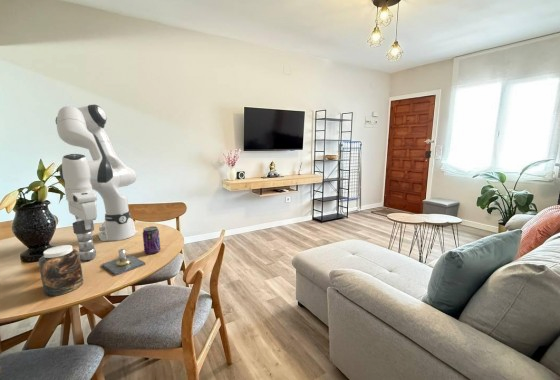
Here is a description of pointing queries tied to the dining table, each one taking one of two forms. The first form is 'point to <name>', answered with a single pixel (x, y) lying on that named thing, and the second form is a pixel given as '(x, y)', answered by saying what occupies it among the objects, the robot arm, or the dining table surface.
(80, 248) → the plastic bottle
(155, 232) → the beverage can
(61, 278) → the jar
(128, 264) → the post stand
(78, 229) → the octagonal nut
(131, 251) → the dining table surface
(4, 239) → the dining table surface
